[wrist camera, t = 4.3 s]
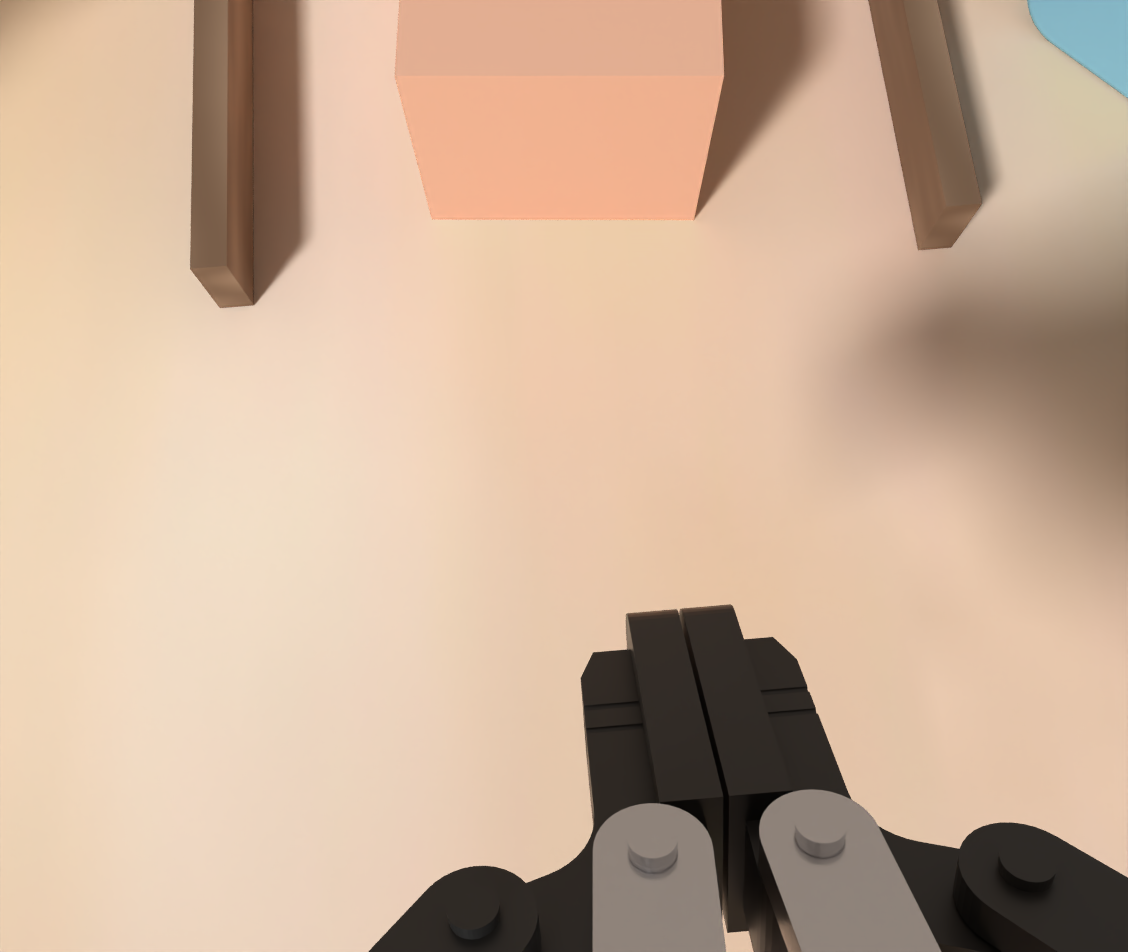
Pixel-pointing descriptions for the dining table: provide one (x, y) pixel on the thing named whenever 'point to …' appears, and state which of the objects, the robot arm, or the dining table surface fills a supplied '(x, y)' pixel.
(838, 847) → the robot arm
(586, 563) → the dining table surface
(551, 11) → the terracotta block
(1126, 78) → the data package
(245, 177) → the lane rails
